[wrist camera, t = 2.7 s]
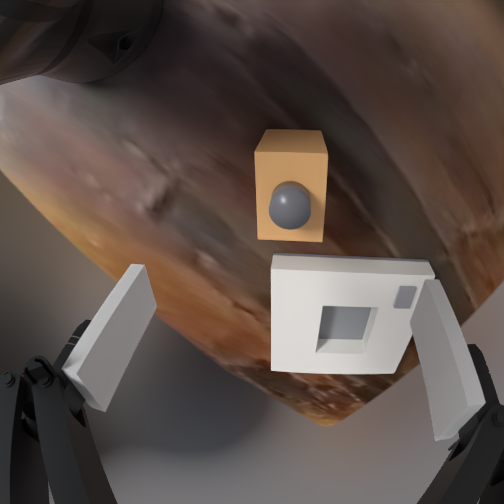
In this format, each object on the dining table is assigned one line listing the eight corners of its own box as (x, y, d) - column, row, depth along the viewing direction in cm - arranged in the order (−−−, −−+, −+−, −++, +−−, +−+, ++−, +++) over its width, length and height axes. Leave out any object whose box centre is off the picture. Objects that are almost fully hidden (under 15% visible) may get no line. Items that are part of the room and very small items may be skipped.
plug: (268, 197, 31) (254, 253, 23) (266, 129, 27) (250, 160, 19) (318, 199, 30) (323, 256, 22) (321, 130, 27) (330, 162, 18)
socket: (273, 354, 45) (270, 372, 42) (273, 252, 35) (270, 271, 32) (391, 357, 42) (394, 375, 39) (427, 259, 32) (436, 277, 29)
